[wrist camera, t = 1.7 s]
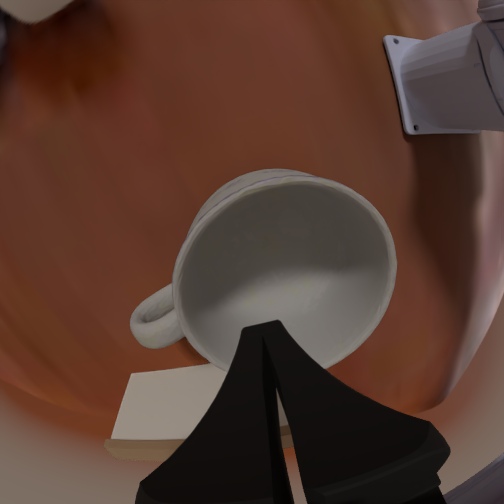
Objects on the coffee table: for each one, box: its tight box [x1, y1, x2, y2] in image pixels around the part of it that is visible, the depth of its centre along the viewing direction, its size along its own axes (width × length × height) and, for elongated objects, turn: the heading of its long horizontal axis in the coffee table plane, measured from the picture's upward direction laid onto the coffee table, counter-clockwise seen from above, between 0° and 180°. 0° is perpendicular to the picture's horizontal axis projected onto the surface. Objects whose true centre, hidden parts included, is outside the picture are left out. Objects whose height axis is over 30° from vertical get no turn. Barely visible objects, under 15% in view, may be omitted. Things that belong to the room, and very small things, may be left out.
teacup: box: [130, 169, 397, 372], centre depth 16 cm, size 14×11×8 cm
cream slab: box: [104, 363, 294, 461], centre depth 19 cm, size 16×2×9 cm, turn 102°
